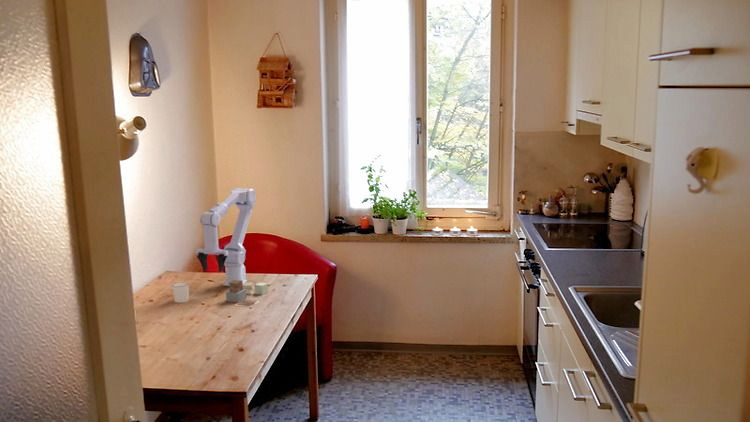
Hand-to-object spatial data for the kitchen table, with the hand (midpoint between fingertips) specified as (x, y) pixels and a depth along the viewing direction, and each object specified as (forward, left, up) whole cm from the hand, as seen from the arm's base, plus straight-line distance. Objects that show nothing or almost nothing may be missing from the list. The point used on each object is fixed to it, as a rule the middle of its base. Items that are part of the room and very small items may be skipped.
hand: (213, 270), depth 287 cm
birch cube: (-4, +14, -10) cm, 18 cm away
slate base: (+6, +14, -10) cm, 18 cm away
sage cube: (-5, +20, -10) cm, 23 cm away
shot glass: (+13, -8, -10) cm, 18 cm away
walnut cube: (+6, +14, -6) cm, 16 cm away
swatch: (+10, +21, -10) cm, 25 cm away
